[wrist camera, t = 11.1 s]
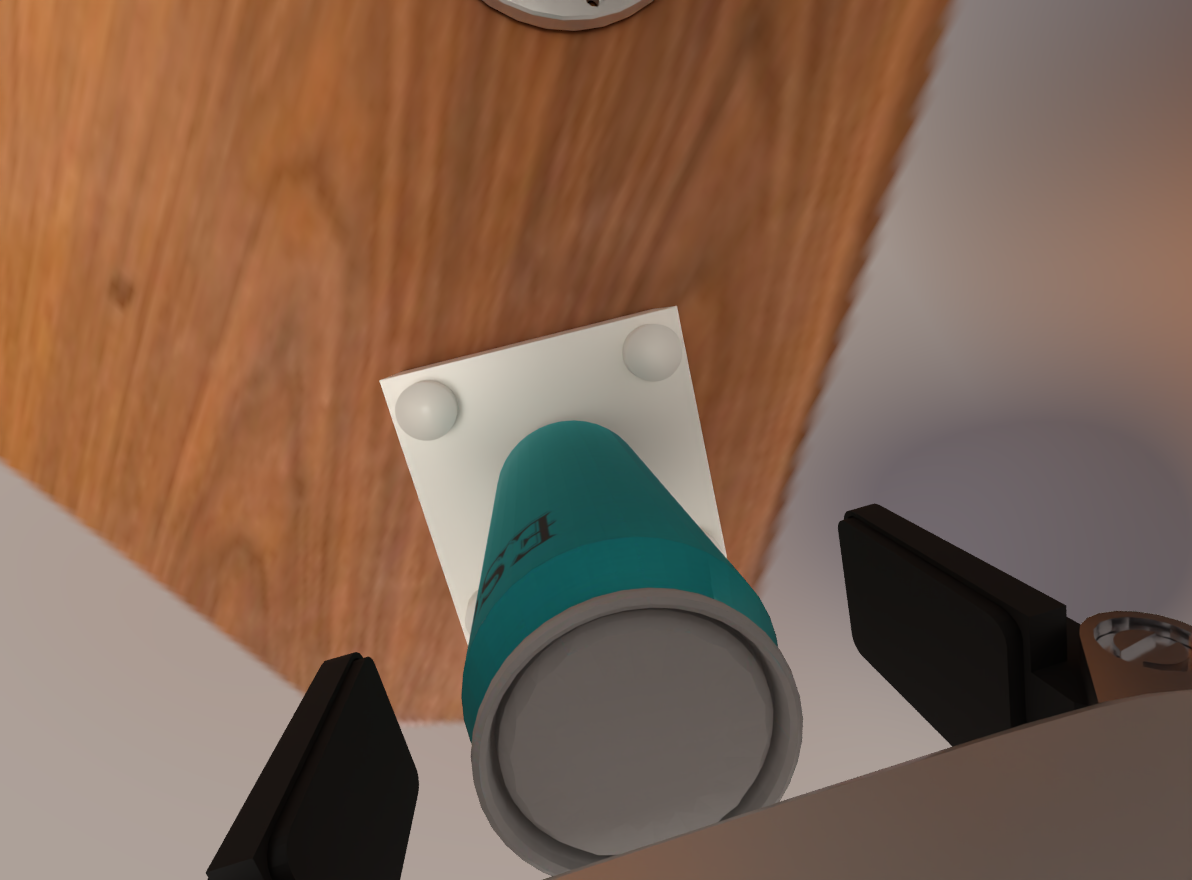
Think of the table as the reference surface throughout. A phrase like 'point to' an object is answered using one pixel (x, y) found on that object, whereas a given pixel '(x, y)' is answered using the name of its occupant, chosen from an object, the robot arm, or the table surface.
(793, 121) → the table surface
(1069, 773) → the robot arm
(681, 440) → the brick
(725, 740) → the beverage can
